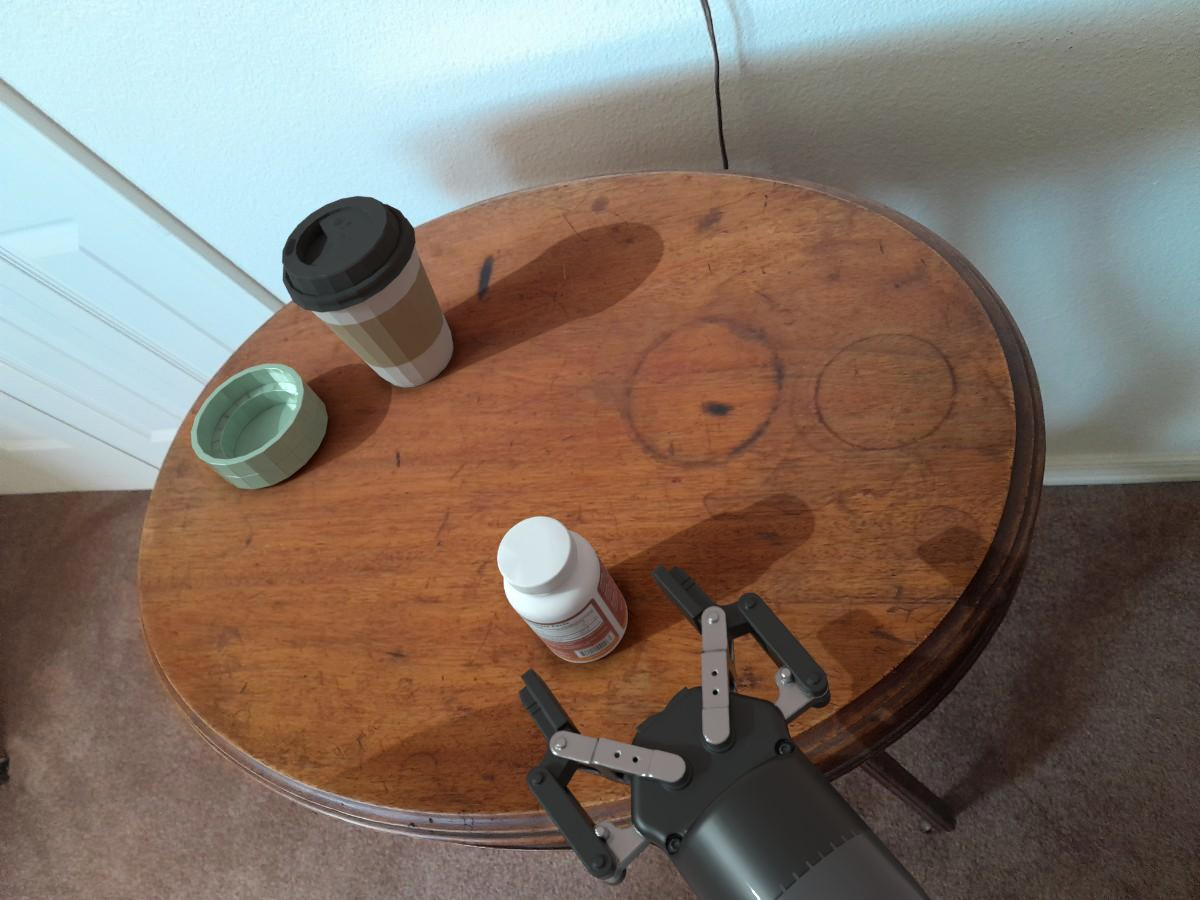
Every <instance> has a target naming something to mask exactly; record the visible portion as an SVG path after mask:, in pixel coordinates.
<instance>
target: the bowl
mask: <svg viewBox="0 0 1200 900" xmlns="http://www.w3.org/2000/svg"><path fill="white" fill-rule="evenodd" d="M328 421H329V416H328V411H327V408H326V405H325V403H324V401H323V400H322V399H321V398H320V396H318V395H317V393H316V392H315V391H314V390H313V389H312V387H310V384H308V383H307V382H306V380H305V379H303V377H302V376H301V375H300V374H299V373H298V372H297V370H295V368H293V367H290V366H288V365H285V364H283V363H262V364H259V365H258V364H257V365H254V366H251V367H248V368H245V369H243V370H241V371H240V372H238V373H236V374H233V375H232V376H230V377H229V378H228V379H227V380H226V381H224V382H223V383H221V384H220V385H218V386H217V387H216V388H215V389H214V390H213V391H212V393H211V394H210V395H209V396H208V397H207V398H206V399H205V400H204V402H203V403H202V405H201V407H200V408H199V410H198V412H197V414H196V415H195V417H194V420H193V423H192V424H193V425H192V427H191V431H190V438H191V439H190V440H191V448H192V449H193V451H194V452H195V455H196V456H197V458H198V459H200V460H201V461H202V462H203V463H205V465H207V466H208V467H209V468H210V469H212V470H213V471H214V472H215V473H216V474H218V475H219V477H221V478H222V479H224V481H225V482H227V483H228V484H231V485H232V486H234V487H236V488H237V489H243V490H244V489H245V490H258V489H262V488H266V487H270V486H274V485H276V484H278V483H280V482H282V481H284V480H286V479H289V478H290V477H291V476H292V475H293V474H295V473H297V472H298V471H299V470H300V469H301V468H303V466H306V464H307V463H308V462H309V461H310V459H311V458H312V457H313V455H314V454H315V453H316V452H317V451H318V449H319V447H320V446H321V444H322V441H323V439H324V438H325V436H326V433H327V426H328Z"/></svg>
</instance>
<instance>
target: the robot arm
mask: <svg viewBox="0 0 1200 900" xmlns="http://www.w3.org/2000/svg"><path fill="white" fill-rule="evenodd" d="M650 573H651V577H652V578H653V580H654V582H655V583H656V585H657V587H658V588H659V590H661V592H662V593H663V594H664V595H665V596H666V597H667V599H668V600H669V601H670V602H671V603H672V605H673V606H674V607H675V608H676V609H677V610H678V611H679V612H680V613H681V614H682V616H683V617H684V618H685V619H686V620H687V621H688V623H689V624H691V626H692V627H693V628H694V629H695V630H696V632H697V633H698V634H699V635H700V636H701V640H702V642H701V644H702V646H701V647H702V651H701V653H700V665H701V666H700V667H701V668H700V669H701V685H698V686H692V687H690V688H688V687H687V686H684V687H683V688H682V689H681V690H679V691H678V692H677V693H676V694H674V695H673V696H672V697H671V699H670V700H669V702H668V703H667V705H666V706H665V708H664V709H662V710H661V711H659V712H658V713H654V714H653V715H650V716H649V717H647V718H645V720H643V721H642V722H641V723H640V724H638V725H637V726H636V727H634V728H635V730H636V733H635V735H634V737H633V739H632V741H631V744H630V743H626V742H623V741H618V740H615V739H614V740H613V739H610V738H605V737H597V738H596V737H592V736H587V735H583V734H582V733H581V732H580V731H579V728H578V727H577V726H576V724H575V723H574V722H573V720H572V719H571V717H570V716H569V715H568V713H567V712H566V710H565V709H564V707H563V706H562V705H561V702H559V700H558V699H557V697H556V696H555V695H554V693H553V692H552V690H551V689H550V687H549V686H548V684H547V683H546V682H545V681H544V679H543V678H542V677H541V676H540V674H538V672H537V671H535V669H533V668H532V667H530V668H529V669H527V670H526V671H525V672H524V673H523V674H522V675H520V678H521V680H522V682H523V683H524V685H525V686H524V687H522V688H521V689H520V690H519V691H518V694H519V699H520V702H521V704H522V705H523V707H524V709H525V710H526V711H527V713H528V715H529V716H530V717H531V719H532V721H533V722H534V723H535V725H536V727H537V728H538V730H539V731H540V732H541V735H542V736H543V737H544V739H545V741H546V751H545V754H544V756H543V757H542V759H541V760H540V762H539V763H538V765H534V766H533V767H531V769H529V771H528V772H527V774H526V777H525V782H526V786H527V788H528V789H529V791H530V792H531V793H532V795H533V796H534V798H535V799H536V800H537V802H538V803H539V805H540V806H541V808H542V809H543V811H544V812H545V813H546V814H547V816H548V817H549V819H550V820H551V821H552V823H553V824H554V826H555V828H556V829H557V830H558V831H559V833H560V834H561V835H562V837H563V838H564V839H565V841H566V843H567V844H568V845H569V846H570V848H571V849H572V852H574V854H575V855H576V857H577V858H578V860H579V861H580V862H581V863H582V865H583V866H584V867H585V869H586V871H587V872H588V873H589V875H591V876H593V877H595V878H596V879H597V880H600V881H601V882H602V883H605V884H607V885H609V886H611V887H613V886H618V885H620V884H621V883H622V882H624V881H625V879H626V876H627V867H628V866H629V865H631V863H632V862H633V861H635V860H636V859H637V858H638V857H639V856H640V855H641V854H642V852H643V851H645V850H646V849H647V847H649V846H650V845H652V846H654V847H657V848H659V849H660V850H662V851H663V852H664V853H665V854H666V856H667V857H668V858H669V860H670V861H671V862H672V864H673V865H674V867H675V868H676V870H677V871H678V872H679V874H680V875H681V877H682V878H683V879H684V881H685V883H686V884H687V885H688V887H689V889H690V890H691V891H692V892H693V894H694V895H695V897H696V898H697V899H698V900H932V899H931V897H929V895H928V893H927V892H926V890H925V889H924V888H923V887H922V886H921V884H920V883H919V881H918V880H916V879H915V877H914V876H913V874H911V872H910V871H909V870H908V869H907V868H906V867H905V866H904V864H903V863H902V862H901V861H900V860H899V859H898V858H897V857H896V856H895V854H894V853H893V852H892V851H891V850H890V849H889V848H888V847H887V845H886V844H885V843H884V842H883V841H882V840H881V839H880V838H879V836H878V835H877V834H876V833H875V832H874V830H873V829H872V828H871V827H870V825H868V824H867V822H865V820H864V819H863V818H862V817H861V816H860V815H859V814H858V813H857V812H856V810H855V809H854V808H853V807H852V805H851V804H849V802H848V801H847V800H846V799H845V798H844V797H843V795H842V794H841V793H840V792H839V791H838V790H837V788H836V787H834V785H833V784H832V783H831V782H830V781H829V780H828V779H827V777H826V776H825V775H824V774H823V773H822V772H821V771H820V769H819V768H818V767H817V766H816V765H815V764H814V763H813V762H812V760H811V759H810V758H809V757H808V756H807V755H806V753H804V751H803V750H802V749H801V748H800V747H799V746H798V744H797V743H796V742H795V740H794V739H793V737H792V735H791V733H790V730H789V725H790V724H791V723H793V722H794V721H795V720H796V719H798V718H799V717H801V716H802V715H803V714H804V713H806V712H807V711H808V710H810V709H811V708H814V709H823V708H825V707H827V706H828V705H829V704H830V702H831V699H832V693H831V690H830V685H829V680H828V676H827V673H826V672H825V670H824V669H823V667H821V665H820V664H818V662H817V661H816V660H815V658H814V657H813V656H812V655H811V654H810V653H809V652H808V650H807V649H806V647H804V646H803V645H802V644H801V642H800V641H799V640H798V639H797V638H796V636H795V635H794V634H793V633H792V632H791V631H790V629H788V627H787V626H786V625H785V624H784V623H783V622H782V621H781V619H780V618H779V617H778V616H777V615H776V614H775V612H774V611H773V610H772V609H771V608H770V607H769V606H768V605H767V603H766V602H765V601H764V600H763V598H762V597H761V596H760V595H759V594H757V593H755V592H751V591H750V592H746V593H743V594H741V596H740V597H739V598H738V600H737V601H734V602H732V603H729V604H718V603H716V602H715V601H713V600H712V599H711V598H710V596H708V594H707V593H706V592H705V591H704V590H703V589H702V588H701V586H699V585H698V584H697V583H696V581H695V580H693V578H692V577H691V576H690V575H689V574H688V573H687V572H686V570H684V569H683V568H681V567H678V566H676V565H675V566H673V567H672V568H671V569H670V570H668V569H667V568H666V567H665V566H664V565H663V564H662V563H661V564H659V565H658V566H656V567H655V568H654V569H653V570H652V571H651V572H650ZM749 634H750V636H752V638H753V639H754V640H755V641H756V643H757V644H758V645H759V646H760V648H761V649H762V650H763V651H764V653H766V654H767V656H768V657H769V658H770V660H771V661H772V662H773V663H774V664H775V666H776V667H777V670H776V671H775V673H774V682H775V685H776V688H777V690H778V697H777V699H776V700H775V701H774V702H773V701H771V700H768V699H766V698H760V697H756V696H751V695H747V694H742V693H739V685H738V684H739V683H738V674H737V669H736V656H735V640H736V639H739V638H741V637H742V636H746V635H749ZM577 771H579V772H583V773H586V774H591V775H594V776H597V777H602V778H605V779H607V780H609V781H611V782H613V783H617V784H621V785H625V786H629V787H630V819H631V823H632V824H631V825H630V826H628V827H624V828H623V827H619V826H617V825H616V824H615V823H613V822H612V821H610V820H607V819H603V820H600V821H598V822H597V823H595V822H594V820H593V818H592V817H591V816H590V814H588V812H587V810H586V809H585V808H584V807H583V805H582V804H581V803H580V802H579V800H578V799H577V798H576V796H575V794H574V793H573V792H572V791H571V789H570V788H569V787H568V785H569V784H570V782H571V780H572V779H573V777H574V776H575V774H576V772H577Z"/></svg>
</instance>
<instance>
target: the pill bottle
mask: <svg viewBox="0 0 1200 900" xmlns="http://www.w3.org/2000/svg"><path fill="white" fill-rule="evenodd" d="M496 556H497V557H496V561H497V566H498V570H499V572H500V574H501V576H503V588H504V589H503V590H504V593H505V596H506V598H507V600H508V602H509V604H510V605H511V607H512V608H513V609H514V610H515V611H516V613H517V614H518V615H519V616H520V617H521V618H522V620H524V623H526V624H527V625H528V626H529V627H530V628H531V629H532V631H533V632H534V633H535V635H537V636H538V638H540V640H541V641H542V642H543V643H544V644H545V645H546V646H547V648H548V649H549V650H550V651H551V652H552V653H553V654H555V656H557V657H558V658H560V659H562V660H565V661H566V662H570V663H576V664H585V663H591V662H595V661H598V660H600V659H602V658H603V657H606V656H608V654H610V653H611V652H613V651H614V650H615V649H616V647H617V646H618V645H619V644H620V642H621V640H622V639H623V637H624V635H625V633H626V630H627V625H628V618H629V617H628V616H629V614H628V613H629V612H628V606H627V602H626V600H625V597H624V595H623V594H622V592H621V590H620V589H619V587H618V585H617V584H616V582H615V581H614V579H613V577H612V576H611V574H610V573H609V571H608V570H607V568H606V566H605V565H604V563H603V561H602V560H601V558H600V557H599V555H598V553H597V552H596V551H595V548H593V546H592V545H591V544H590V542H589V541H588V540H587V539H586V538H585V537H583V536H582V535H581V534H579V533H577V532H575V531H573V530H570V529H568V528H567V527H566V526H565V525H564V523H562V522H560V521H559V520H558V519H556V518H553V517H550V516H543V515H542V516H541V515H540V516H539V515H538V516H532V517H528V518H525V519H523V520H521V521H520V522H518V523H516V524H515V525H513V526H512V527H511V528H510V529H509V530H508V531H507V532H506V533H505V535H504V536H503V537H502V540H501V541H500V543H499V546H498V550H497V555H496Z"/></svg>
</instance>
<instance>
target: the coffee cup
mask: <svg viewBox="0 0 1200 900" xmlns="http://www.w3.org/2000/svg"><path fill="white" fill-rule="evenodd" d="M415 232H416V231H415V228H414V226H413V225H412V224H411V222H410V221H409V219H408V218H407V217H405V215H404V214H403V213H402V211H401V210H400V209H398V208H396V207H394V206H392V205H390V204H388V203H383V202H382V201H381V200H379V199H377V198H375V197H372V196H363V195H355V196H354V195H353V196H348V197H343V198H340V199H337V200H334V201H332V202H328V203H326V204H324V205H322V206H321V207H320V208H318V209H316V210H314V211H313V212H310V214H308V215H307V216H306V217H305V218H304V219H302V220H301V221H300V222H299V223H298V224H297V225H296V227H295V228H294V229H293V230H292V232H291V233H290V234H289V236H288V237H287V239H286V242H285V243H284V245H283V246H284V247H283V248H282V253H281V263H282V283H283V286H284V287H285V289H286V291H287V293H288V294H289V296H290V299H291V301H292V302H293V303H294V304H295V305H297V306H298V307H300V308H301V309H303V310H305V311H310V312H312V313H313V314H314V315H315V316H316V317H317V318H318V319H319V320H320V321H321V322H323V323H324V325H326V326H327V327H328V328H329V329H330V330H331V331H332V332H333V333H334V334H335V335H336V336H337V337H338V338H339V339H340V340H342V341H343V342H344V343H345V344H346V345H347V346H348V347H349V348H350V349H351V350H352V351H353V352H354V353H355V354H356V355H357V356H358V357H359V358H361V360H363V361H364V362H365V363H366V364H367V365H368V366H369V367H370V368H371V369H372V370H373V371H374V372H375V373H376V374H377V375H378V376H379V377H381V378H382V379H384V381H386V382H389V383H390V384H392V385H393V386H395V387H399V388H416V387H418V386H421V385H424V384H426V383H428V382H430V381H432V380H433V379H434V378H436V377H437V376H439V375H440V374H441V373H442V372H443V371H444V370H445V369H446V368H447V366H448V364H449V363H450V361H451V359H452V356H453V353H454V341H453V337H452V336H453V335H452V331H451V329H450V327H449V324H448V321H447V320H446V317H445V314H444V313H443V309H442V308H441V305H440V303H439V300H438V298H437V295H436V293H435V291H434V289H433V286H432V283H431V282H430V279H429V277H428V274H427V272H426V269H425V267H424V264H423V262H422V260H421V257H420V255H419V253H418V250H417V248H416V243H417V241H416V233H415Z"/></svg>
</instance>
